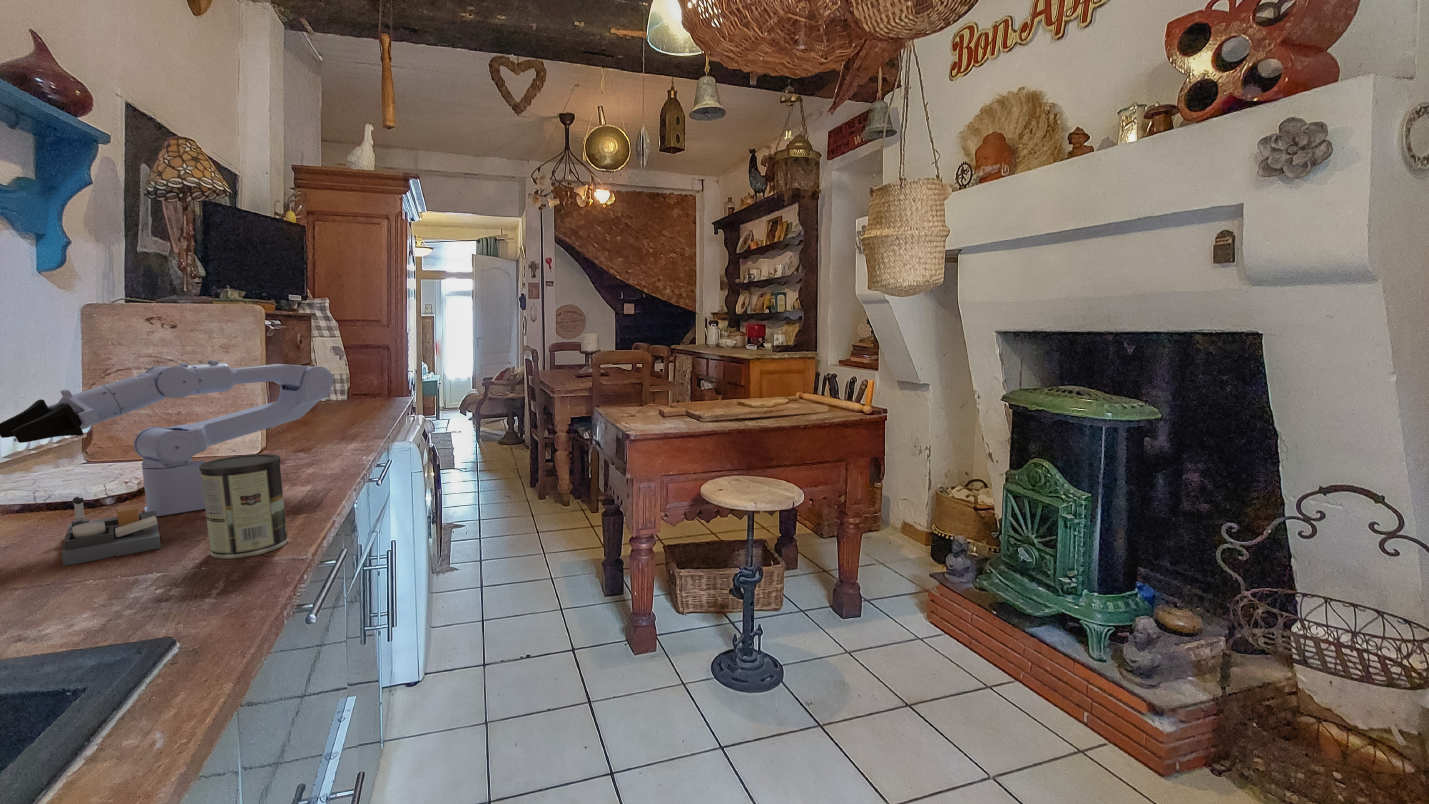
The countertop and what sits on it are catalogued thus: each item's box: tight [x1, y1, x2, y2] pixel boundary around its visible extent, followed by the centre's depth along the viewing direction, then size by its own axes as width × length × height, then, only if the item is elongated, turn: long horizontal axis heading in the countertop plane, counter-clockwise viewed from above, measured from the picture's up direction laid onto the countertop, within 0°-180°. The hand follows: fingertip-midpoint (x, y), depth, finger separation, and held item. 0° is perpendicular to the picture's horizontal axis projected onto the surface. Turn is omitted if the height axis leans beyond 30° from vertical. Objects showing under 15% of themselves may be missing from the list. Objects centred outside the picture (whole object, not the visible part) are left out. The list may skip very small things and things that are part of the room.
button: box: [72, 521, 106, 538], centre depth 100 cm, size 4×4×2 cm
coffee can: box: [199, 453, 289, 560], centre depth 103 cm, size 10×10×14 cm
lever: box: [72, 496, 85, 520], centre depth 108 cm, size 1×1×4 cm
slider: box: [116, 503, 139, 526], centre depth 108 cm, size 2×4×3 cm, turn 42°
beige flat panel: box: [115, 516, 158, 537], centre depth 104 cm, size 5×3×1 cm, turn 131°
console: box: [61, 511, 162, 567], centre depth 106 cm, size 11×18×3 cm, turn 42°
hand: (7, 434), depth 103 cm, fingers open, 7 cm apart
